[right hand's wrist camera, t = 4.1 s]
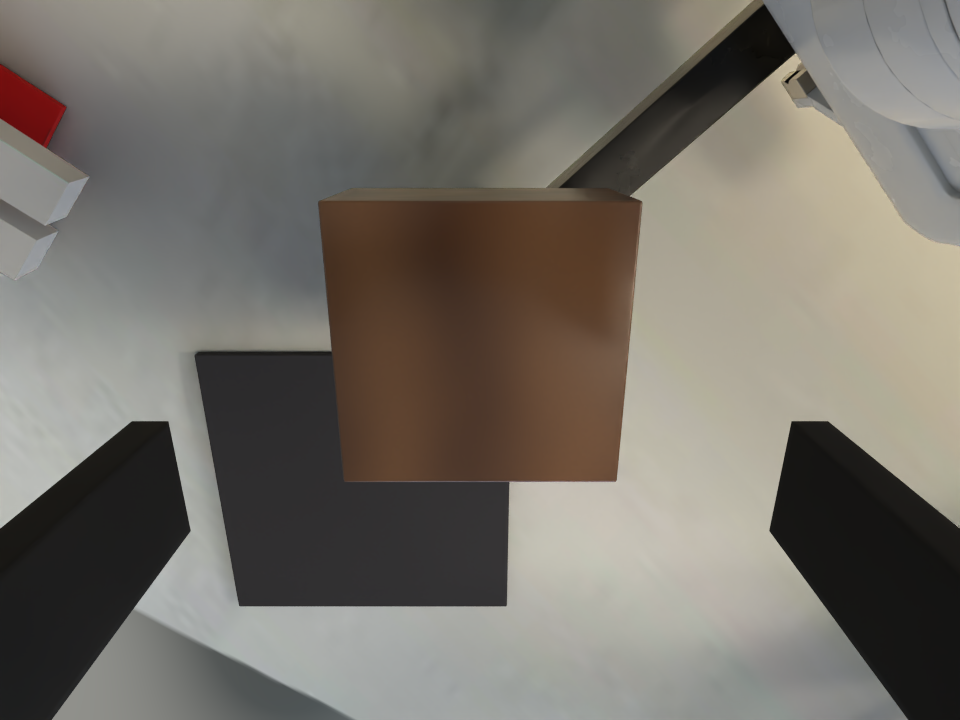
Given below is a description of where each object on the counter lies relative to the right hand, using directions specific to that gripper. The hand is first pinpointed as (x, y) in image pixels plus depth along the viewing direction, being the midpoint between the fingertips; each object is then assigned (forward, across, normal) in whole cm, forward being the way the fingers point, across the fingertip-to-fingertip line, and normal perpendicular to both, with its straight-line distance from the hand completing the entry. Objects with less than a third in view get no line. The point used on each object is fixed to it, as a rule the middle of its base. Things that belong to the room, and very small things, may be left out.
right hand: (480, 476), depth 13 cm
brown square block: (+13, 0, 0) cm, 13 cm away
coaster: (+25, +8, +16) cm, 30 cm away
